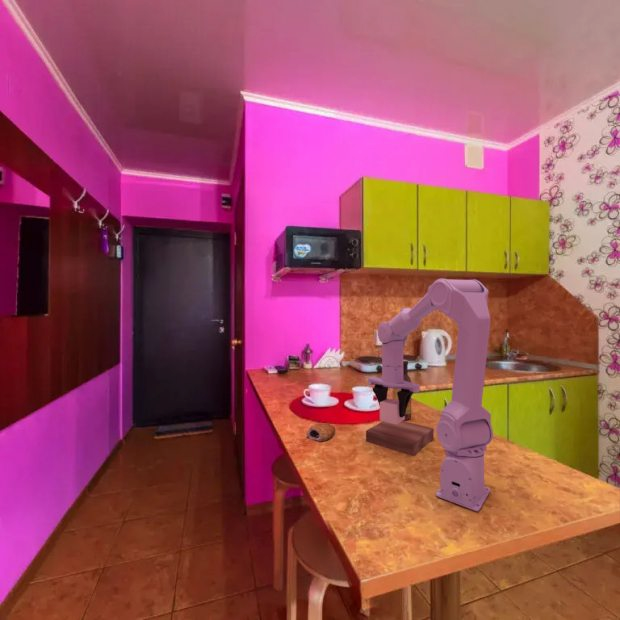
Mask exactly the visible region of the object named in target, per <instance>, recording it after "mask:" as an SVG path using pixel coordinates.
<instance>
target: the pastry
mask: <svg viewBox="0 0 620 620" xmlns="http://www.w3.org/2000/svg"><path fill="white" fill-rule="evenodd" d="M335 433H336V427H335V426H334V425H332V424H330V423H315V424H313V425H311V426H309V429H308V430H307V432H306V434H305V435H306V437H307V438H308V439H309V440H313V441H317V442H326V441H328V440H331V438H332V437H333V436H334V435H335Z"/></svg>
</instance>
